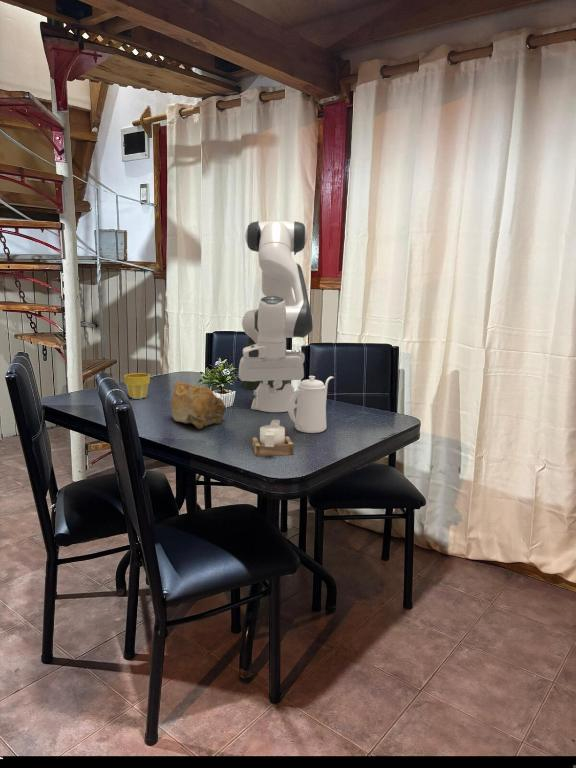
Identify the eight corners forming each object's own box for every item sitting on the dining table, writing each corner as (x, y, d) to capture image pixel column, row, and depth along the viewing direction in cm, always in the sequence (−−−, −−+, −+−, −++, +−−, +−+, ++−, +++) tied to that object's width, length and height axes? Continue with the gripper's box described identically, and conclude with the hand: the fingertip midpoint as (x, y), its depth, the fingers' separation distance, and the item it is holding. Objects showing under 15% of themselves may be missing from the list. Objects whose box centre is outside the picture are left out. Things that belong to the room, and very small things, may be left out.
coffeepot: (344, 424, 205) (346, 373, 201) (301, 440, 186) (302, 383, 182) (320, 419, 212) (321, 369, 208) (276, 433, 193) (276, 378, 189)
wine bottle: (264, 388, 263) (265, 322, 257) (254, 391, 256) (254, 324, 250) (249, 385, 268) (250, 321, 261) (239, 388, 261) (239, 322, 254)
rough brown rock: (238, 430, 199) (240, 387, 197) (193, 433, 189) (196, 388, 187) (208, 417, 218) (210, 378, 216) (167, 419, 208) (168, 378, 206)
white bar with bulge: (287, 441, 185) (287, 420, 184) (282, 458, 168) (282, 435, 167) (264, 440, 186) (264, 419, 184) (256, 457, 169) (256, 434, 167)
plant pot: (129, 395, 245) (128, 372, 243) (153, 395, 245) (152, 373, 243) (121, 400, 235) (120, 377, 233) (146, 401, 234) (145, 377, 232)
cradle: (252, 446, 178) (252, 437, 178) (288, 445, 180) (288, 436, 180) (256, 456, 170) (256, 446, 169) (293, 454, 172) (293, 444, 171)
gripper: (302, 348, 181) (301, 390, 184) (238, 348, 178) (237, 392, 181) (306, 351, 175) (305, 395, 178) (239, 352, 172) (239, 397, 175)
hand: (271, 393), depth 179 cm, fingers closed
